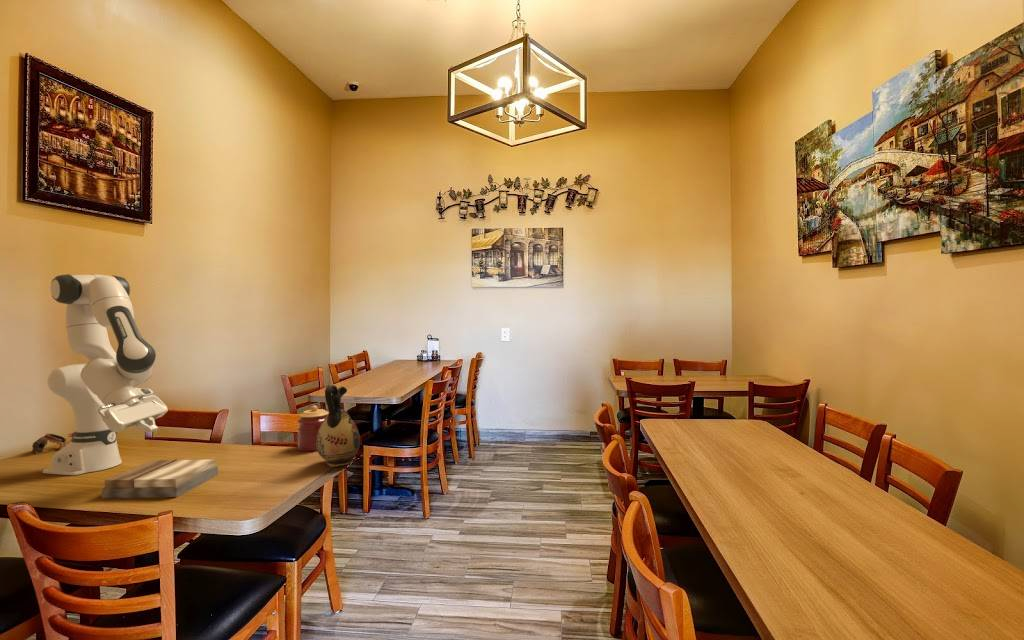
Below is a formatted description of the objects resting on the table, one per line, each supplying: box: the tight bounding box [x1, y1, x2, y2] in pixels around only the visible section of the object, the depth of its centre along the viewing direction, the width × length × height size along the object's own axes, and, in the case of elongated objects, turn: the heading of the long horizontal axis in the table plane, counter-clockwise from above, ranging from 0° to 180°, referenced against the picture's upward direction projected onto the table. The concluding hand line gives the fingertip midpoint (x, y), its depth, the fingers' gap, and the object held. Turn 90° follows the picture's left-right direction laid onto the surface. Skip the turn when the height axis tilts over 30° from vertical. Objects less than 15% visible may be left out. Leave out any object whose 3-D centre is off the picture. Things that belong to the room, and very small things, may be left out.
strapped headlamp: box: [31, 433, 67, 455], centre depth 192 cm, size 12×10×8 cm
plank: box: [134, 458, 216, 488], centre depth 152 cm, size 13×19×2 cm
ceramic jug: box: [316, 384, 361, 468], centre depth 172 cm, size 17×15×30 cm
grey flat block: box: [101, 458, 219, 499], centre depth 152 cm, size 23×20×6 cm
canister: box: [297, 405, 329, 452], centre depth 194 cm, size 13×13×18 cm
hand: (153, 431), depth 152 cm, fingers closed
